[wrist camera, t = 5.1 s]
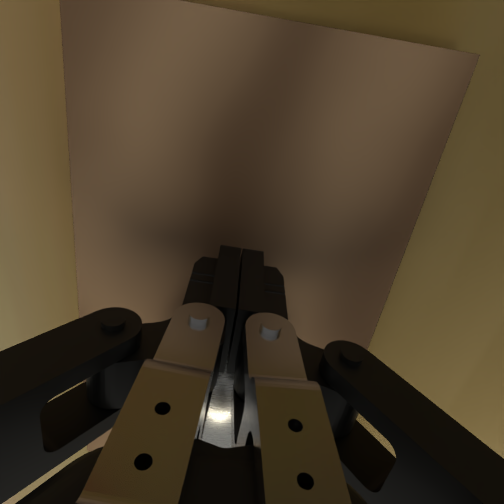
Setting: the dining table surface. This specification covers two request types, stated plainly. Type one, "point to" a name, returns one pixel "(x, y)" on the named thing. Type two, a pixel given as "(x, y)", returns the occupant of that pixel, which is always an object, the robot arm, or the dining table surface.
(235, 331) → the robot arm
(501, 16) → the dining table surface
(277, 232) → the wooden cutting board
